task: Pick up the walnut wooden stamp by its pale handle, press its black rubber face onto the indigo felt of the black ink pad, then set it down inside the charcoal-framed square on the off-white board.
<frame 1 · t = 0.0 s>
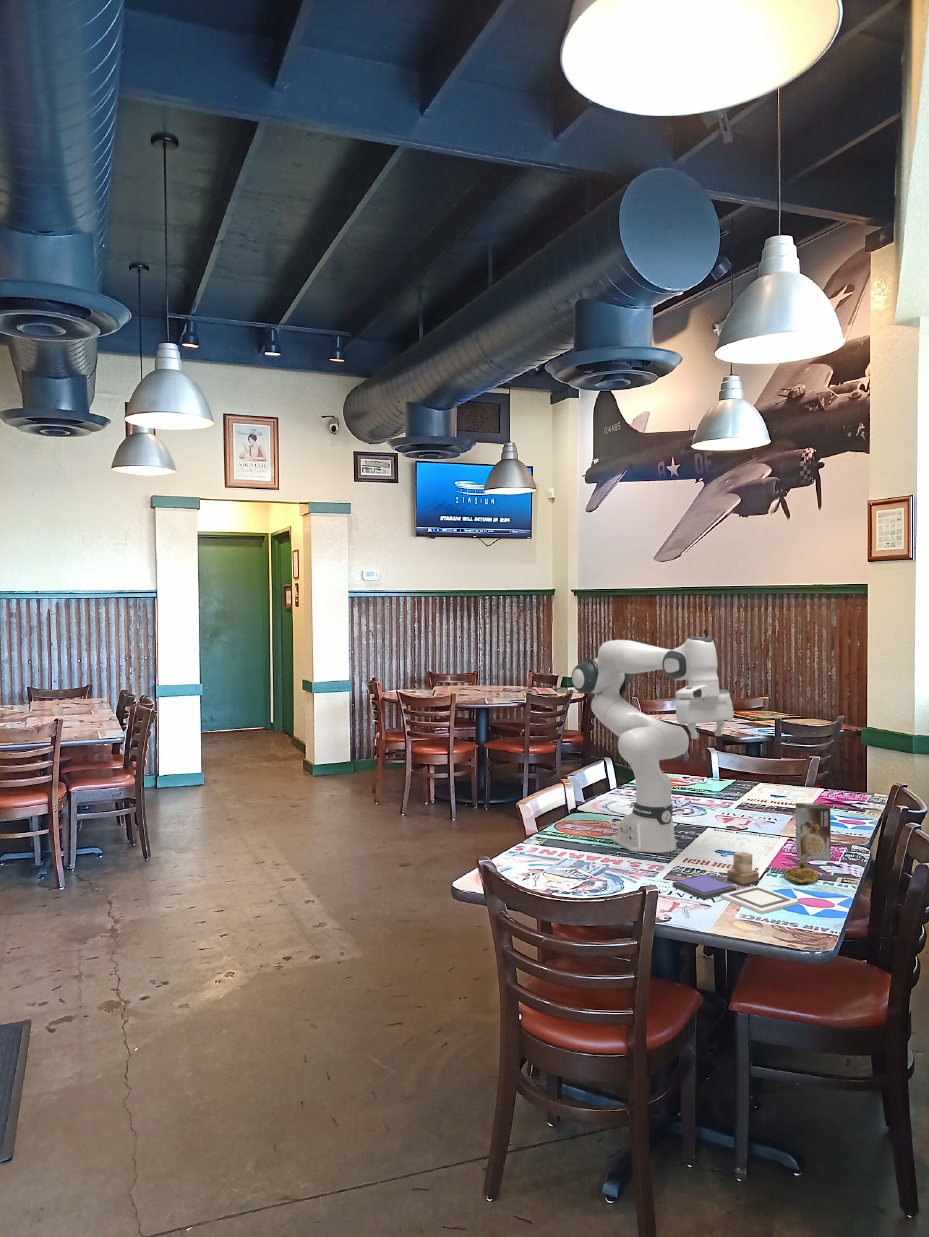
hand: (707, 737, 259), 39 cm above the table, tool pointing down, fingers open, 8 cm apart
ink pad: (704, 889, 241), on the table
target board: (759, 900, 232), on the table
seal: (800, 879, 250), on the table
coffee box: (812, 857, 269), on the table
stamp: (742, 881, 247), on the table
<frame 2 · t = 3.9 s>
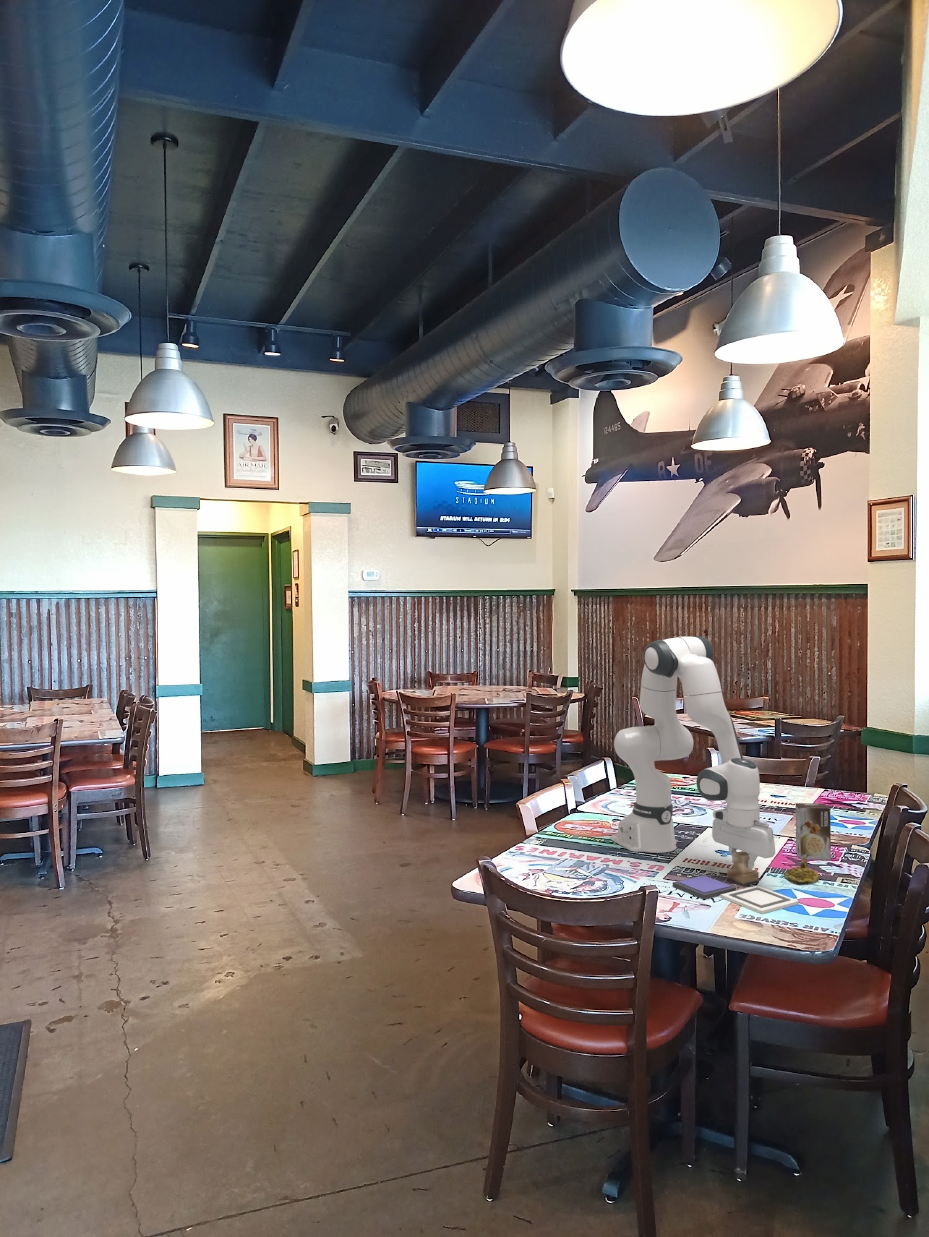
hand: (742, 865, 247), 5 cm above the table, tool pointing down, fingers closed on stamp, 4 cm apart
stamp: (742, 881, 247), on the table, touching gripper
everything else where it was.
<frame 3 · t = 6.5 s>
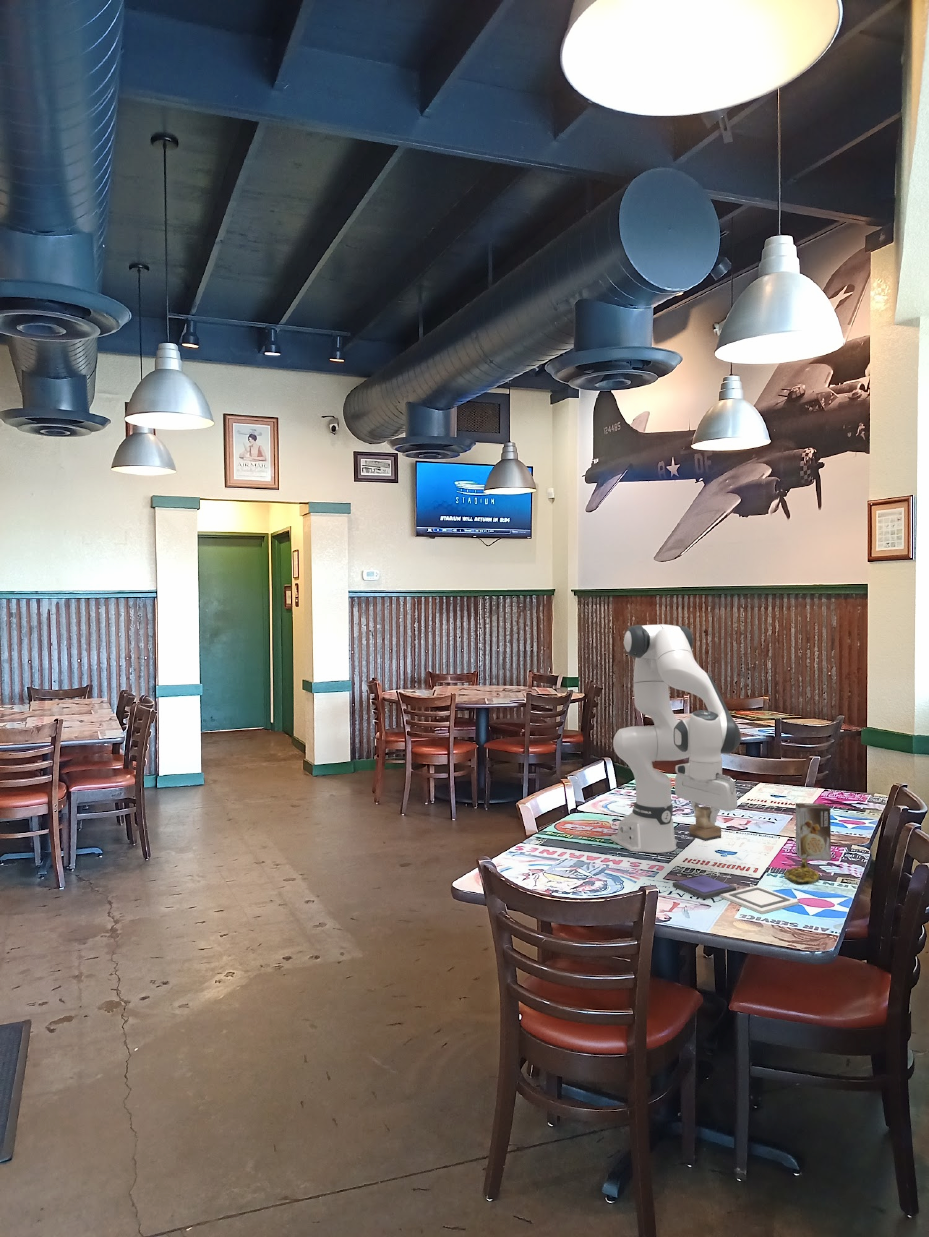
hand: (705, 820, 240), 19 cm above the table, tool pointing down, fingers closed on stamp, 4 cm apart
stamp: (705, 836, 240), point 15 cm above the table, touching gripper
everything else where it was.
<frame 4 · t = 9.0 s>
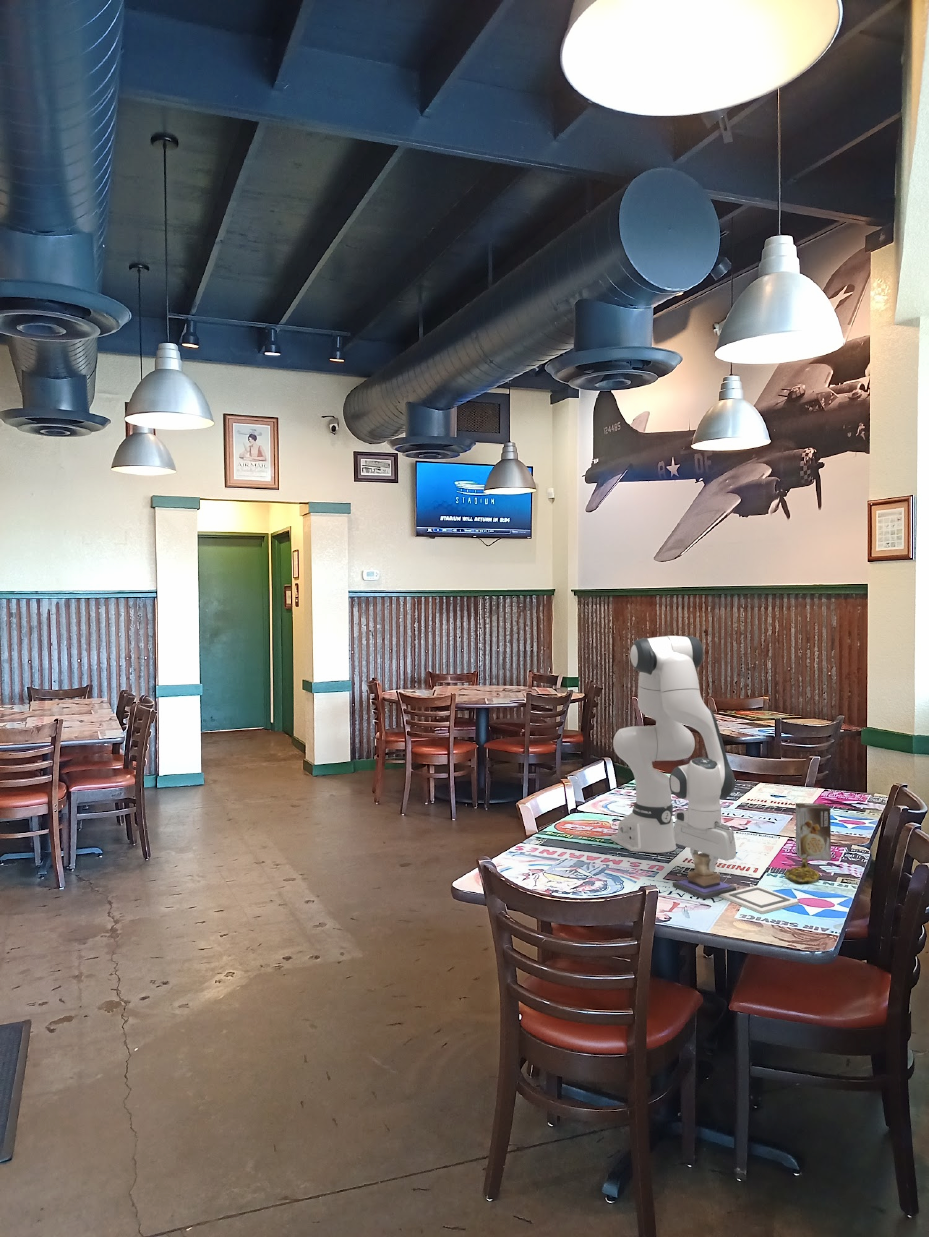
hand: (704, 867, 241), 6 cm above the table, tool pointing down, fingers closed on stamp, 4 cm apart
stamp: (704, 883, 241), point 1 cm above the table, touching gripper, ink pad
everything else where it was.
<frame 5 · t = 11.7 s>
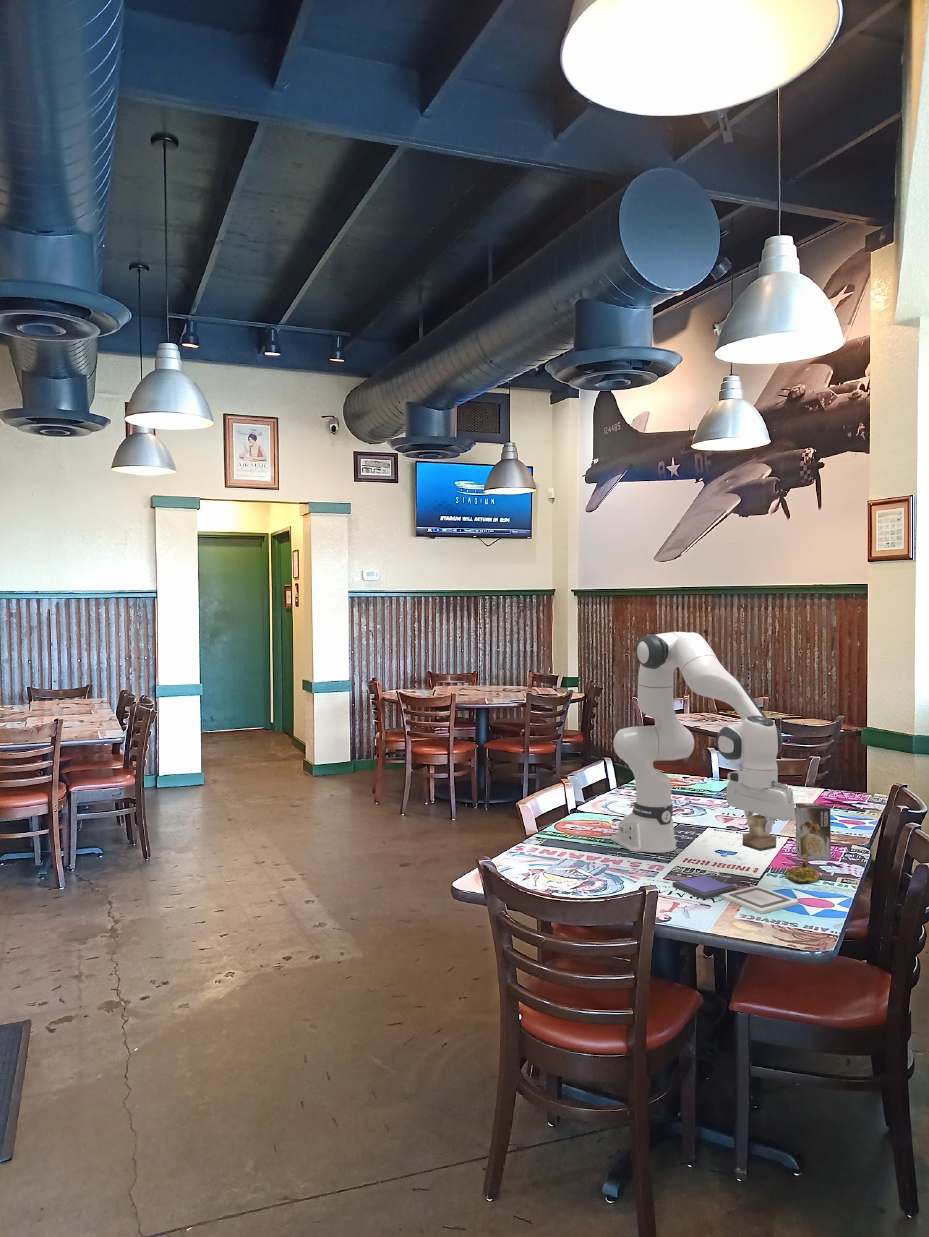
hand: (759, 830, 231), 19 cm above the table, tool pointing down, fingers closed on stamp, 4 cm apart
stamp: (759, 846, 231), point 15 cm above the table, touching gripper
when the fingers open (7 cm above the table, at t = 14.2 s): stamp drops 1 cm, resting on target board.
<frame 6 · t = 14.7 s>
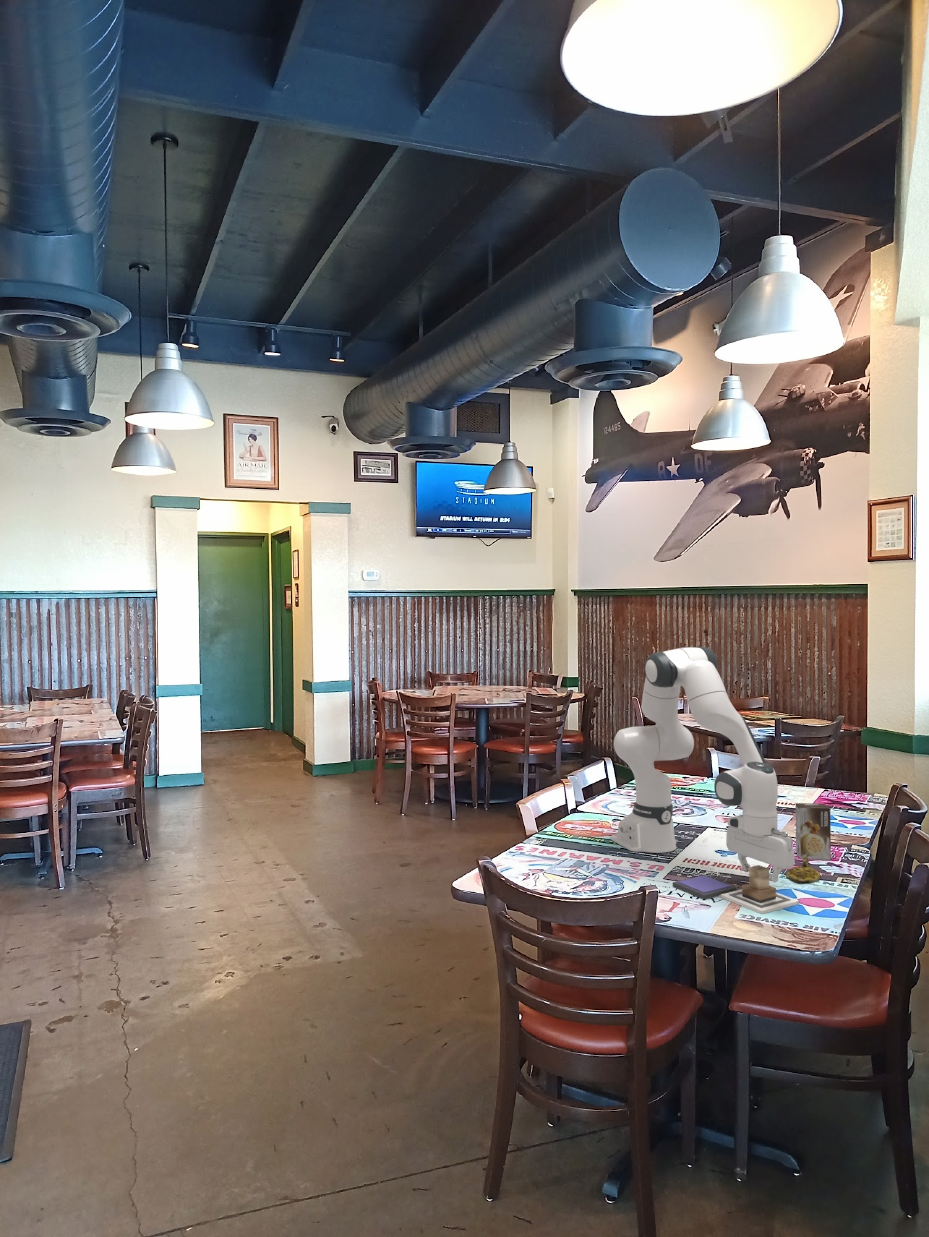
hand: (759, 876, 231), 7 cm above the table, tool pointing down, fingers open, 8 cm apart
stamp: (759, 897, 232), point 1 cm above the table, touching target board
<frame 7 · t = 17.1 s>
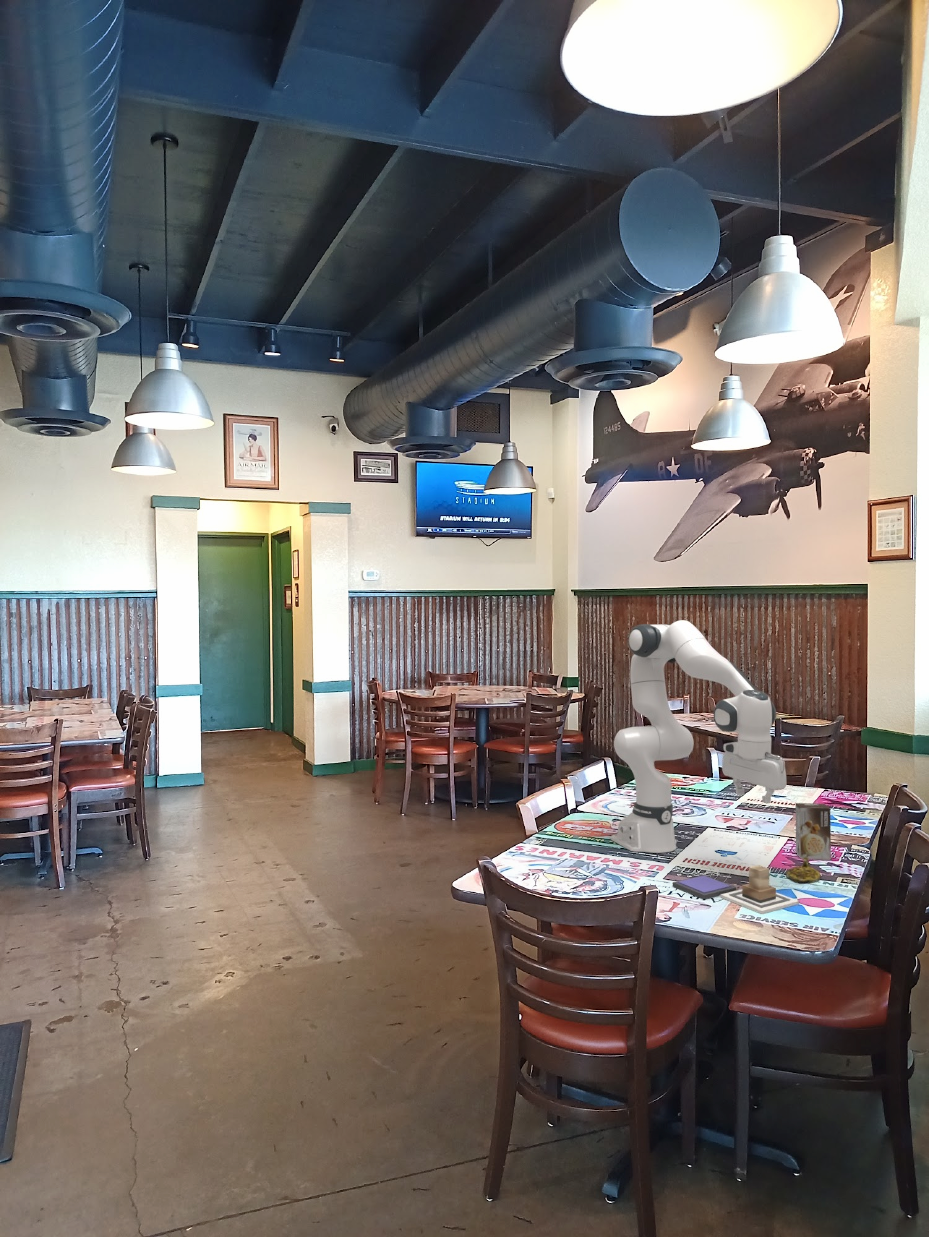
hand: (752, 798, 243), 25 cm above the table, tool pointing down, fingers open, 8 cm apart
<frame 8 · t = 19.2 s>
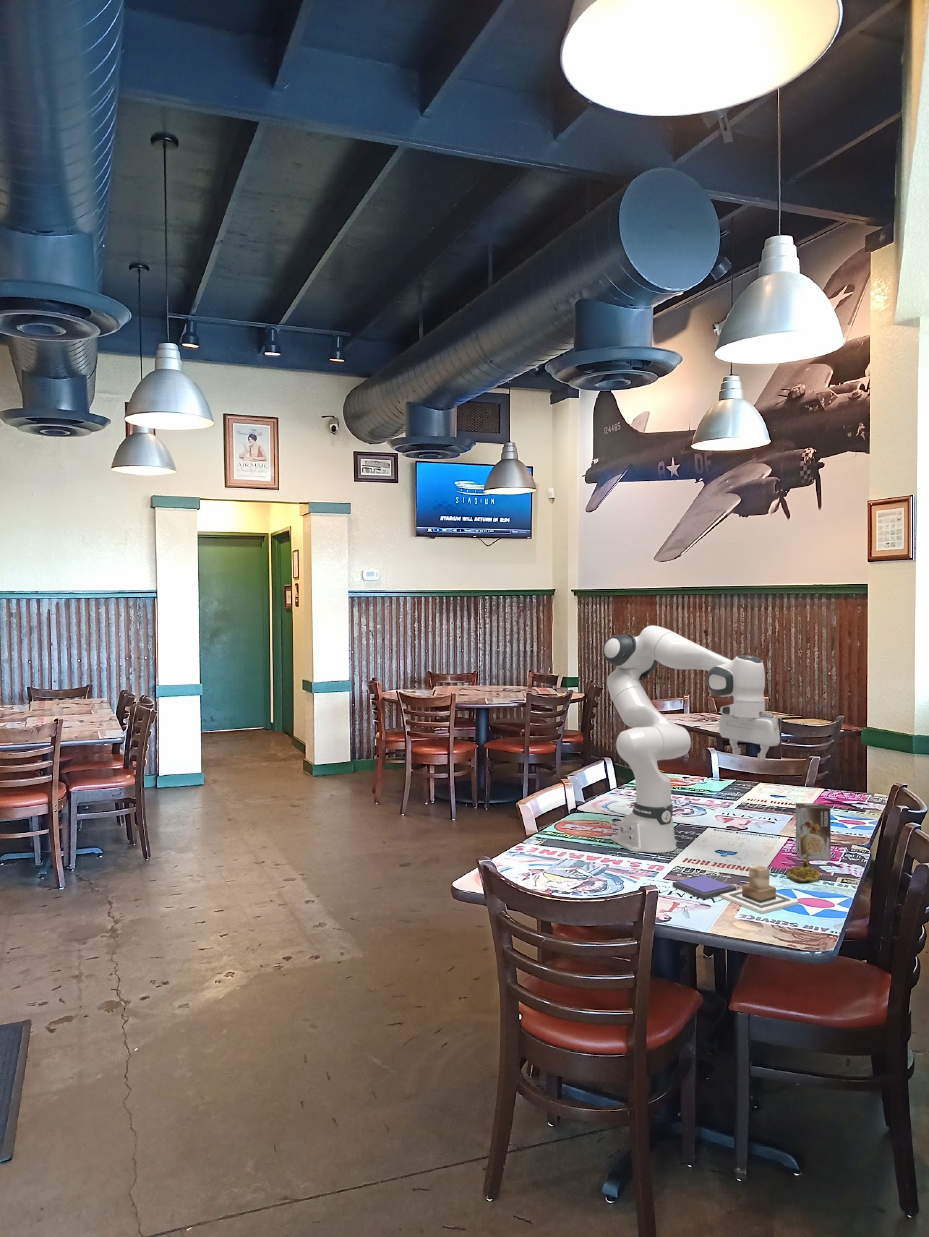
hand: (748, 756, 258), 33 cm above the table, tool pointing down, fingers open, 8 cm apart
at the end: stamp 0.1 cm off-centre on the target board, point 0.8 cm above the target board's base; stamp tilted 0°; the gripper is holding nothing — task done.
